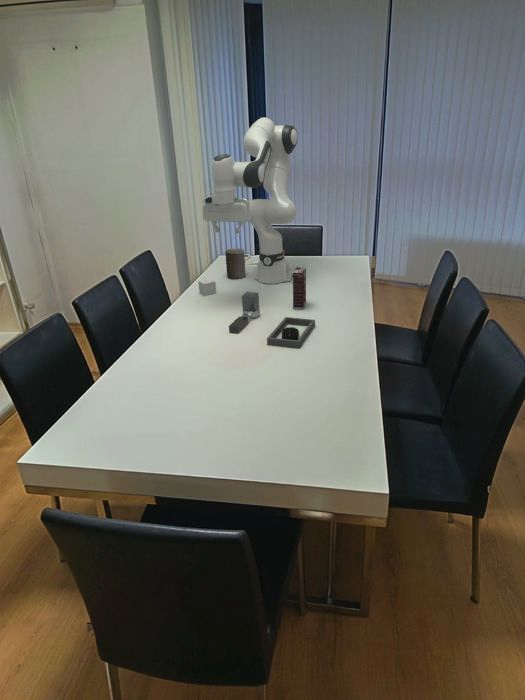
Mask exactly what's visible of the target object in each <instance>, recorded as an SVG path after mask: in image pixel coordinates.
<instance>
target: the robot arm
mask: <svg viewBox="0 0 525 700" xmlns="http://www.w3.org/2000/svg"><path fill="white" fill-rule="evenodd" d="M297 131H298V130H297V129H296V127H295V126H294V125H290V124H284V125H279V124H278V125H275V123H274V122H273V120H272V119H270V118H268V117H260V118H259V119H257V120H256V121H254V123H252V124H251V126H250V127H249V128H248V130H247V131H246V132H245V135H244V137H243V140H242V141H243V142H242V143H243V147H244V149H245V151H246V152H247V153H248V155H250V156H251V157H254V158H255V160H253V161H235V160H233V157H232V155H230V154H227V153H226V154H218V155H216V156H215V157H213V159H212V163H211V172H212V173H211V177H212V182H213V194H210V195H209V196H206V197H204V198H202V201H203V206H202V219H203V220H204V222H211V225H212V226H213V229H214V232H215V233H220V232H221V228H220V227H218V223H219V222H222V223H225V222H226V223H236V224H237V227H236V228H235V234H240V233H241V228H242V225H243V223H248V222H249V223H250V224H251V225H252V226H253V228H254V230H255V231H256V234H257V236H258V241H259V254H258V259H259V260H258V262H256V263H257V264H256V265H257V267H256V275H255V276H254V279H255V280H256V281H258V282H259V283H261V284H267V285H268V284H269V285H270V284H272V285H273V284H276V285H277V284H281V283H285V282H290V281H291V280H292V279H293V272H294V270H290V267H289V261H287V260H286V258H285V254H286V253H285V252H286V250H285V249H283V237H282V234H281V233H280V232H279V231H278V230H276V229H274V227H273V225H272V224H275V225H277V224H279V225H283V224H288V223H292V222H293V221H294V220H295V218H296V216H297V208H296V204H295V203H294V202H293V201H292V200H291V199H290V197H289V195H288V191H287V188H288V180H289V175H290V170H291V169H290V168H291V157H290V155H291V154H292V153H293V151H294V149H295V148H296V146H297V144H298V138H299V137H298V132H297ZM261 185H263V189H264V190H265V192H267V194H270V195H271V198H268V199H267V198H255V199H251V200H248V199H246V198H245V197H243V198H239V197H237V191H236V187H237V188H249V189H250V188H252V189H257V188H259V187H261Z"/></svg>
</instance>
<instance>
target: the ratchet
mask: <svg viewBox="0 0 525 700" xmlns="http://www.w3.org/2000/svg"><path fill="white" fill-rule="evenodd" d="M260 312H261V310H260V307H259V308H258V309H257V310H256V311H255V312H248V311H243V310H242V315H241V316H238V317H237V318H236V319H235V320H234V321H233V322H231V323H230V324H229V326H228V330H229V331H228V332H229V334H240V333H241V332H242V331H243V330H244V329H245V328H246V327H247V326H248V325H249V323H250V322H252V320H256V319H259V318H260V316H261V314H260Z"/></svg>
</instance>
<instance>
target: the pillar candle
mask: <svg viewBox="0 0 525 700" xmlns="http://www.w3.org/2000/svg"><path fill="white" fill-rule="evenodd" d="M245 258H246V257H245V249H242V248H229V249H226V250H225V265H226V266H225V267H226V278H227V279H228V280H235V281H236V280H242V279H244V278H246V260H245Z"/></svg>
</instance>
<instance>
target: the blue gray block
mask: <svg viewBox="0 0 525 700" xmlns="http://www.w3.org/2000/svg"><path fill="white" fill-rule="evenodd" d="M259 296H260V295H259V292H255V291H254V292H253V291H246V292H245V293H243V294H242V295H241V304H242V307H241V308H242V312H243V311H248V312H255V311H256V310H257V309H258V308H259V309H260V299H259V298H260V297H259Z"/></svg>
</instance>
